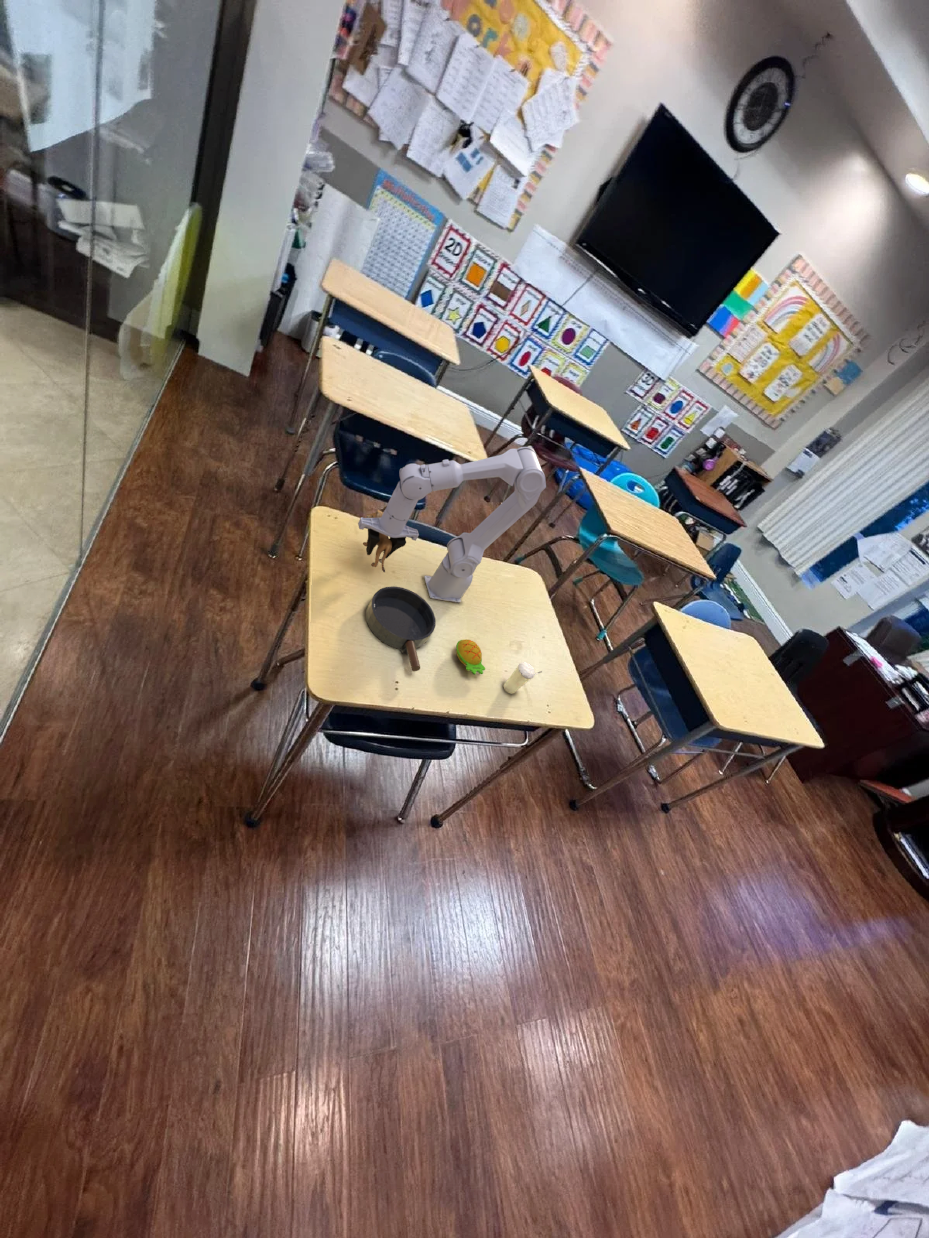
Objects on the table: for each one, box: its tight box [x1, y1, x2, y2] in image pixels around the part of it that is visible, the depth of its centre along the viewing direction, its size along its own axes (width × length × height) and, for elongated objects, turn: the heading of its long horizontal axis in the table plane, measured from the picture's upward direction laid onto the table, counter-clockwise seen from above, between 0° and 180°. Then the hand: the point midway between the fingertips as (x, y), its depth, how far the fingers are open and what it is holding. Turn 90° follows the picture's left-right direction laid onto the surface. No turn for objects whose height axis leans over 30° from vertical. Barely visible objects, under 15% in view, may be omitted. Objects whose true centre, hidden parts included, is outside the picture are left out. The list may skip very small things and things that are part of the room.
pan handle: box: [400, 641, 421, 672], centre depth 115 cm, size 7×2×4 cm, turn 17°
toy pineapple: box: [455, 638, 486, 675], centre depth 124 cm, size 7×10×5 cm
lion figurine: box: [362, 509, 392, 573], centre depth 125 cm, size 15×5×9 cm, turn 30°
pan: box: [365, 585, 437, 650], centre depth 122 cm, size 16×16×4 cm
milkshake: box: [503, 661, 543, 695], centre depth 124 cm, size 4×5×10 cm
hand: (376, 553), depth 127 cm, fingers closed on lion figurine, 4 cm apart
